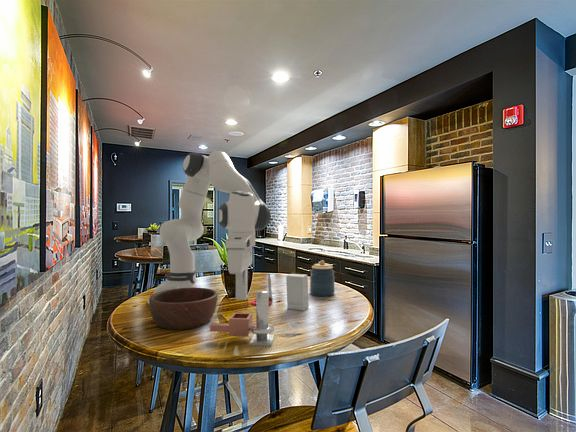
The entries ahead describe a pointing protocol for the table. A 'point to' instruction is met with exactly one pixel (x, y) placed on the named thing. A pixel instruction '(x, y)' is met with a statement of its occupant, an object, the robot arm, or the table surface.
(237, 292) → the wedge pin
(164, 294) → the wooden bowl
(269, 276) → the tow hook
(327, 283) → the canister
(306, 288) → the skincare box
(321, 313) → the table surface
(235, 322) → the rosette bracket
